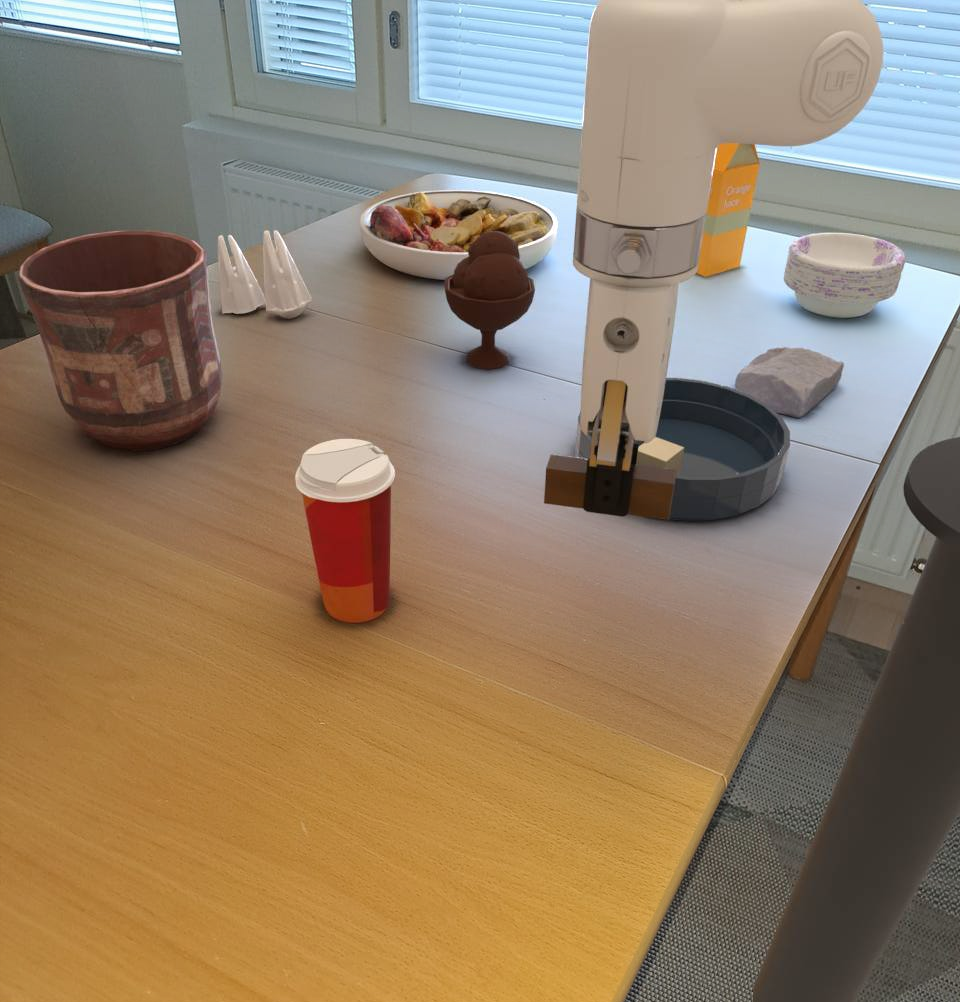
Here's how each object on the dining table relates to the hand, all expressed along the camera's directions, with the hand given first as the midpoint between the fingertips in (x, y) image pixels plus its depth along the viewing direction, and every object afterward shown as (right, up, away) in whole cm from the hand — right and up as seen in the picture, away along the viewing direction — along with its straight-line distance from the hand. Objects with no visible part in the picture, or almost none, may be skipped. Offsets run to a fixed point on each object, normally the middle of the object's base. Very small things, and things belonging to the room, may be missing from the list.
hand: (608, 499), depth 68 cm
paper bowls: (+41, +37, +65) cm, 85 cm away
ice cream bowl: (-8, +25, +50) cm, 56 cm away
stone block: (+27, +19, +45) cm, 56 cm away
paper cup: (-20, -7, +13) cm, 25 cm away
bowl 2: (+11, +8, +31) cm, 34 cm away
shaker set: (-38, +34, +60) cm, 78 cm away
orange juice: (+25, +48, +77) cm, 94 cm away
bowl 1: (-13, +50, +79) cm, 94 cm away
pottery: (-45, +14, +36) cm, 60 cm away
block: (+9, +6, +28) cm, 30 cm away
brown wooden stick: (0, 0, 0) cm, 0 cm away
